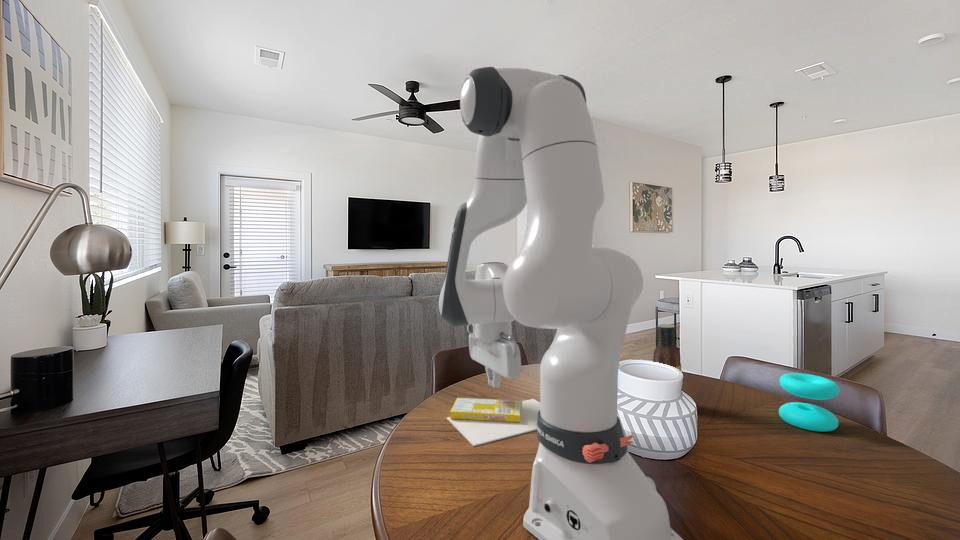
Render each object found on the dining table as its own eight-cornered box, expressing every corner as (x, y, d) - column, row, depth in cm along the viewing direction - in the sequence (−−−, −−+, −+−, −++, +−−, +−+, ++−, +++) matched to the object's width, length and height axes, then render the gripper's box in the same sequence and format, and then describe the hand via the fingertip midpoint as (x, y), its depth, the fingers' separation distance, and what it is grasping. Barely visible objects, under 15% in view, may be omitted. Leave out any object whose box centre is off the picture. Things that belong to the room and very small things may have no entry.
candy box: (456, 405, 97) (449, 419, 89) (456, 397, 97) (449, 410, 89) (522, 408, 95) (520, 423, 87) (522, 400, 95) (520, 413, 86)
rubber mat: (569, 421, 88) (569, 420, 88) (473, 446, 77) (473, 445, 77) (533, 399, 101) (533, 398, 101) (446, 418, 90) (446, 417, 90)
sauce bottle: (676, 400, 99) (676, 323, 98) (686, 410, 93) (687, 328, 92) (649, 400, 100) (649, 323, 99) (657, 410, 93) (658, 327, 92)
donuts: (823, 373, 88) (851, 388, 78) (822, 416, 89) (849, 436, 79) (771, 369, 91) (792, 384, 81) (770, 411, 91) (790, 430, 82)
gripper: (528, 336, 86) (528, 397, 87) (485, 321, 104) (486, 372, 105) (503, 339, 83) (504, 403, 84) (464, 324, 101) (465, 376, 102)
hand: (494, 386), depth 94 cm, fingers closed
